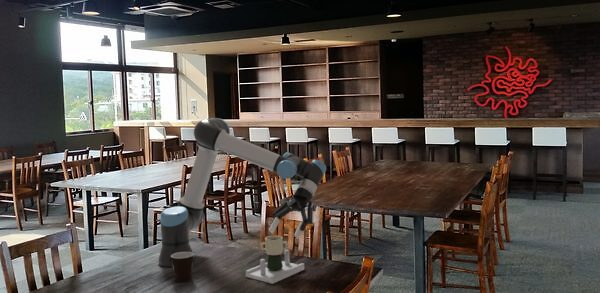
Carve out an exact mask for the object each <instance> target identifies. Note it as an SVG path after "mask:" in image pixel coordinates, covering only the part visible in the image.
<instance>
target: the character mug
mask: <svg viewBox="0 0 600 293" xmlns="http://www.w3.org/2000/svg"><path fill="white" fill-rule="evenodd" d="M264 240H265V241H263V242H260V250H261V251H262V252H263V251H265V253H266V255H268V256H267V268H268V269H270V270H279V269H281V268H282V267H283V265H282V261H283V260H282V256H281V255H282V254H283V252H284V250H289V244H288V241H284V237H283V236H281V235H269V236H265V238H264ZM284 245H285V246H284ZM264 246H265V247H264Z"/></svg>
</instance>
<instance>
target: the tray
mask: <svg viewBox="0 0 600 293" xmlns="http://www.w3.org/2000/svg"><path fill="white" fill-rule="evenodd" d="M283 252H284V260H282V265H283V267H282V268H281V269H279V270H270V269H268V268H267V262H268V261H267V262H266V259H265V258H261V259H259V265H256V266H255V267H252V268H248V269H247V270H245V277H246V278H249V279H253V280H256V281H261V282H264V283H269V284H276V283H277V282H279V281H282V280H284V279H287V278H289V277H291V276H293V275H295V274H298V273H299V272H302V271H304V270H305V262H304V263H303V262H302V263H299V264H298V263H292V262H290V249H286V250H283Z"/></svg>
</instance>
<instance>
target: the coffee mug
mask: <svg viewBox="0 0 600 293" xmlns="http://www.w3.org/2000/svg"><path fill="white" fill-rule="evenodd" d="M193 255H194V252H193V253H191V252H178V253H175V254H172V255H171V259H172V265H173V267H172V269H173V275H174V281H175V283H179V282H180V283H179V284H182V283H188V282H191V281H192V278H193V264H194V261H193Z"/></svg>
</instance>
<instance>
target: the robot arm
mask: <svg viewBox="0 0 600 293" xmlns="http://www.w3.org/2000/svg"><path fill="white" fill-rule="evenodd" d="M193 136H194V138H195V139H194V140H196V145H197V147H198V150H197V152H196V157H195V159H194V163H193V164H192V169H191V172H190V174H189V179H188V182H187V185H186V189H185V192H184V194H183V197H180V198H179V200H178V203H177V206H171V207H167V208H165V209H163V210H162V212H161V213H160V219H159V221H160V232H161V233H160V234H161V248H160V252H159V256H158V265H159V266H161V267H164V268H165V267H166V268H173V265H172V259H171V255H172V254H175V253H178V252H191V253H193V262H194V261H195V255H194V252H193V249H192V247H191V244H190V232H191V231H193V230H194V229H196V228H198V227H199V226H200V225H201V223H202V222H203V219H204V207H205V204H204V203H203V200H204V196H205V193H206V190H207V188H208V184H209V180H210V178H211V174H212V171H213V168H214V165H215V163H216V159H217V155H218V154H219V153H222V152H224V153H227V154H229V155H232V156H234V157H236V158H239V159H242V160H244V161H247V162H249V163H251V164H253V165H255V166H256V165H257V166H258V167H261V168H263V169H265V170H268V171H270V172H272V173H275V174H277V175H278V176H279V177H280V178H282V179H285V180H286V179H287V180H288V179H291V178H293V177H294V176H295V175H296V176H297V177H299V178H301V181H300V183H299V185H298V186H297V188H296V190H295V192H294V193H293V198H292V199H289V198H288V197H287V198H285V200H284V202H282V204H280V205H279V206H278V207H277V208H276V209H275V210H274V211H273V212H272V213H271V216H273V219H272V221H271V224H270V227H269V229H268V231H269V232H270V234H272V235H273V234H274V233H275V232H276V229H277V227H278V225H279V224H280V219H282V218H283V217H285V216H287V215H288V214H289V213H292V212H298V213H300V214H301V219H302V220H301V221H300V222H299V224H298V226H297V228H296V230H295V232H294V234H293V235H294V237H295V238H297V240H298V239H299V238H300V236H301V234H302V233H303V232H304V231H305V229H306V228H307V226H308V225H313V220H314V218H313V216H314V214H313V213H314V212H313V209H314V207H315V205H314V203H313V202H312V199H313V198H314V196H315V194H316V191H317V189H318V187H319V186H320V184H321V182H322V180H323V178H324V176H325V173H326V171H327V166H326V165H327V164H325V163H324V162H323V161H322V160H318V159H313V160H312V161H307V160H305V159H304V158H301V157H299V156H297V155H295V154H294V153H291V152H285V153H284V154H282V155H280V154H278V153H276V152H273V151H271V150H268V149H266V148H264V147H261V146H258V145H257V144H253V143H251V142H249V141H247V140H244V139H241V138H240V137H237V136H234V135H232V134H231V129H230V126H229V124H228V123H227V121H225V120H224V119H223V118H219V117H218V118H217V117H212V118H205V119H201V120H200V121H199V122H198V123H196V124H195V126H194V129H193ZM306 208H307V213H306Z"/></svg>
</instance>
